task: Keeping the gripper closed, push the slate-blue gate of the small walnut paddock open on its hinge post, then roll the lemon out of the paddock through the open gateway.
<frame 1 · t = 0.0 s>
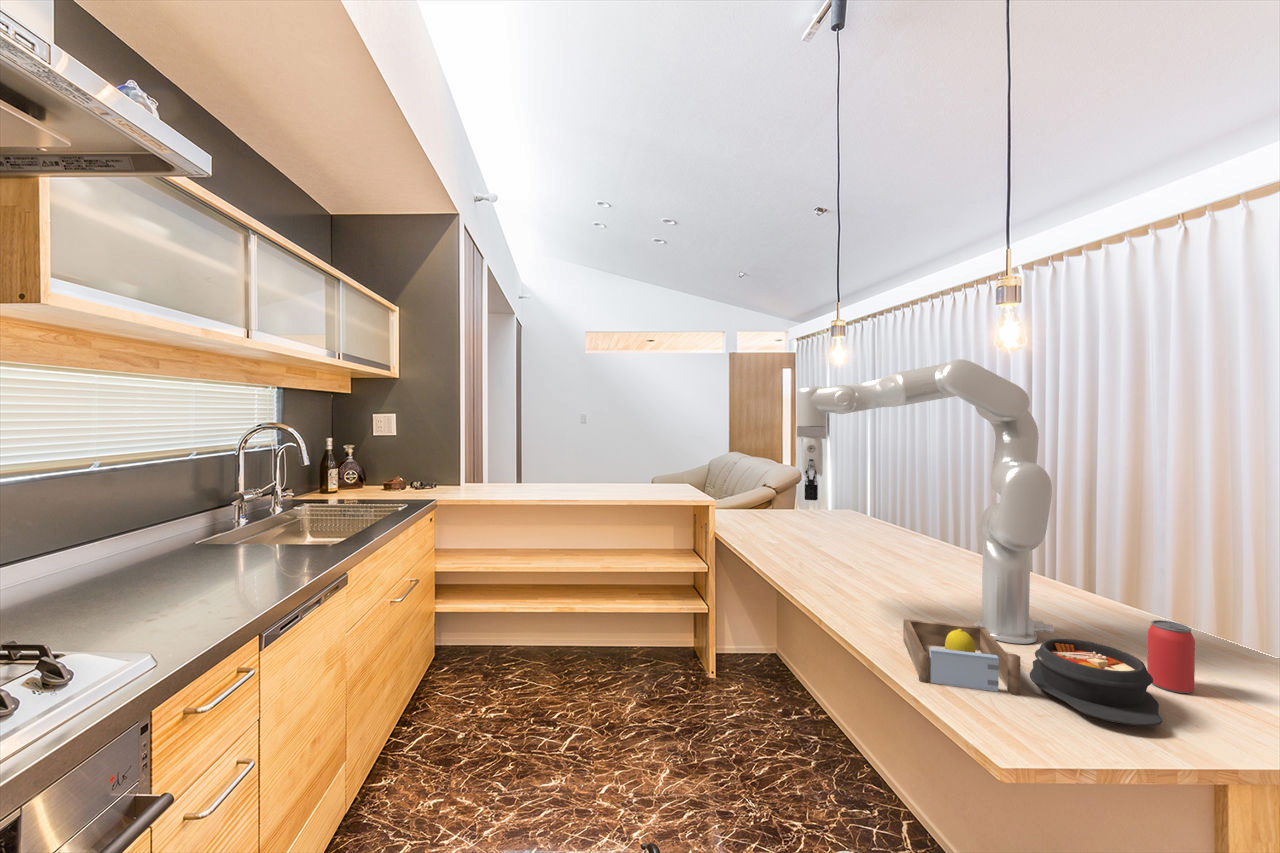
hand: (811, 497, 145), 31 cm above the counter, tool pointing down, fingers open, 9 cm apart
gate: (963, 669, 106), point 3 cm above the counter, hinge at 0.0°
lemon: (959, 667, 114), on the counter
paddock: (953, 664, 116), on the counter
casserole: (1090, 699, 102), on the counter
beer can: (1170, 687, 106), on the counter
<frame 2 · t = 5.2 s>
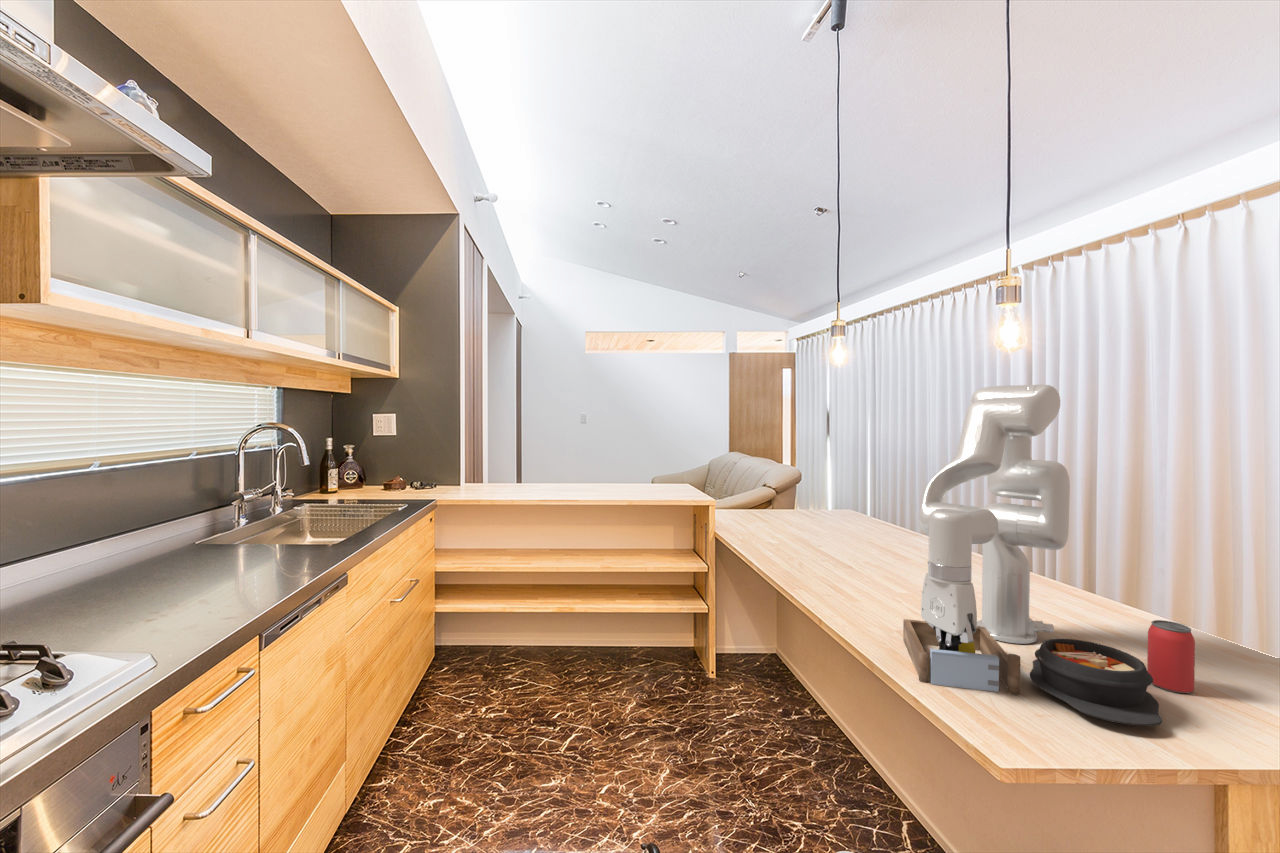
hand: (948, 662, 109), 3 cm above the counter, tool pointing down, fingers closed
gate: (963, 670, 106), point 3 cm above the counter, hinge at 2.3°, touching gripper
everything else where it was.
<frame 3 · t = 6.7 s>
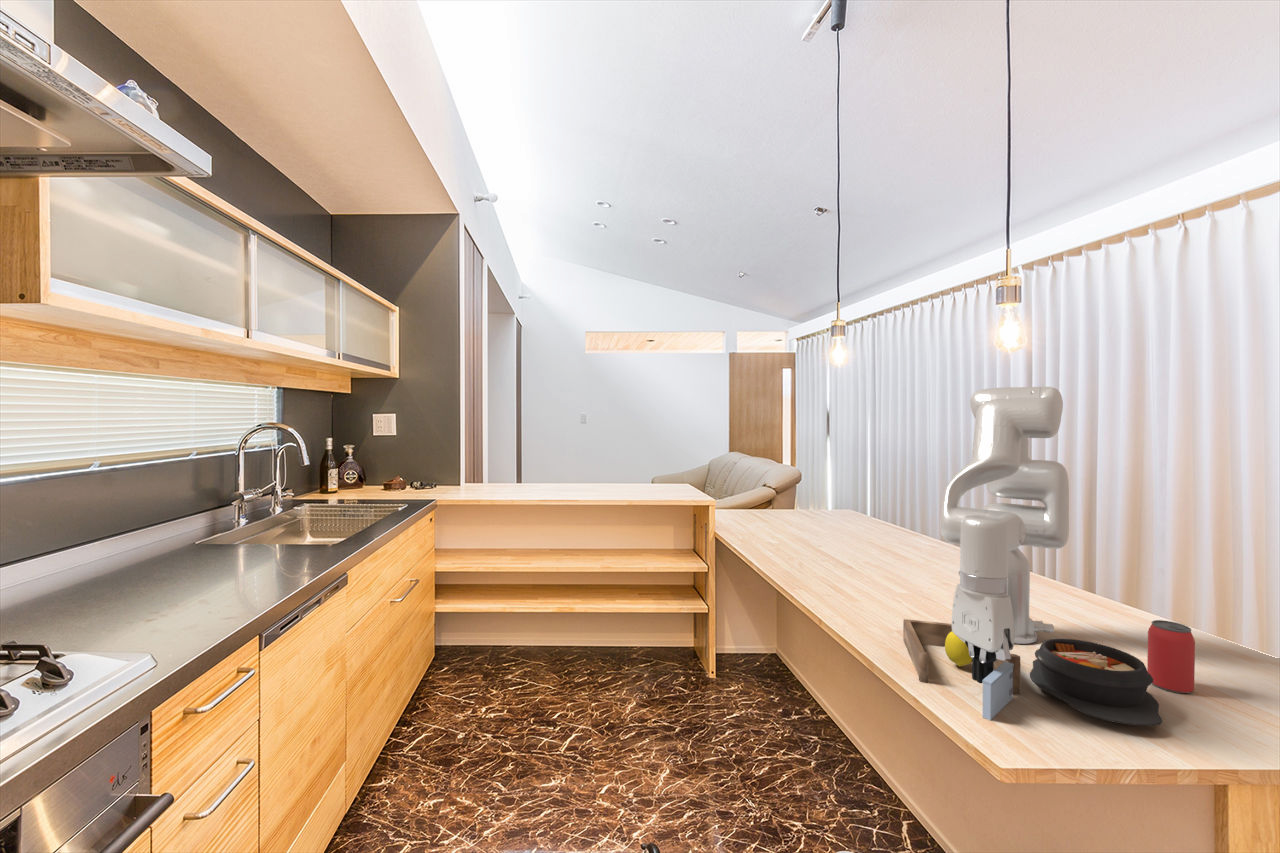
hand: (982, 680, 101), 3 cm above the counter, tool pointing down, fingers closed
gate: (998, 689, 98), point 3 cm above the counter, hinge at 57.3°, touching gripper
everything else where it was.
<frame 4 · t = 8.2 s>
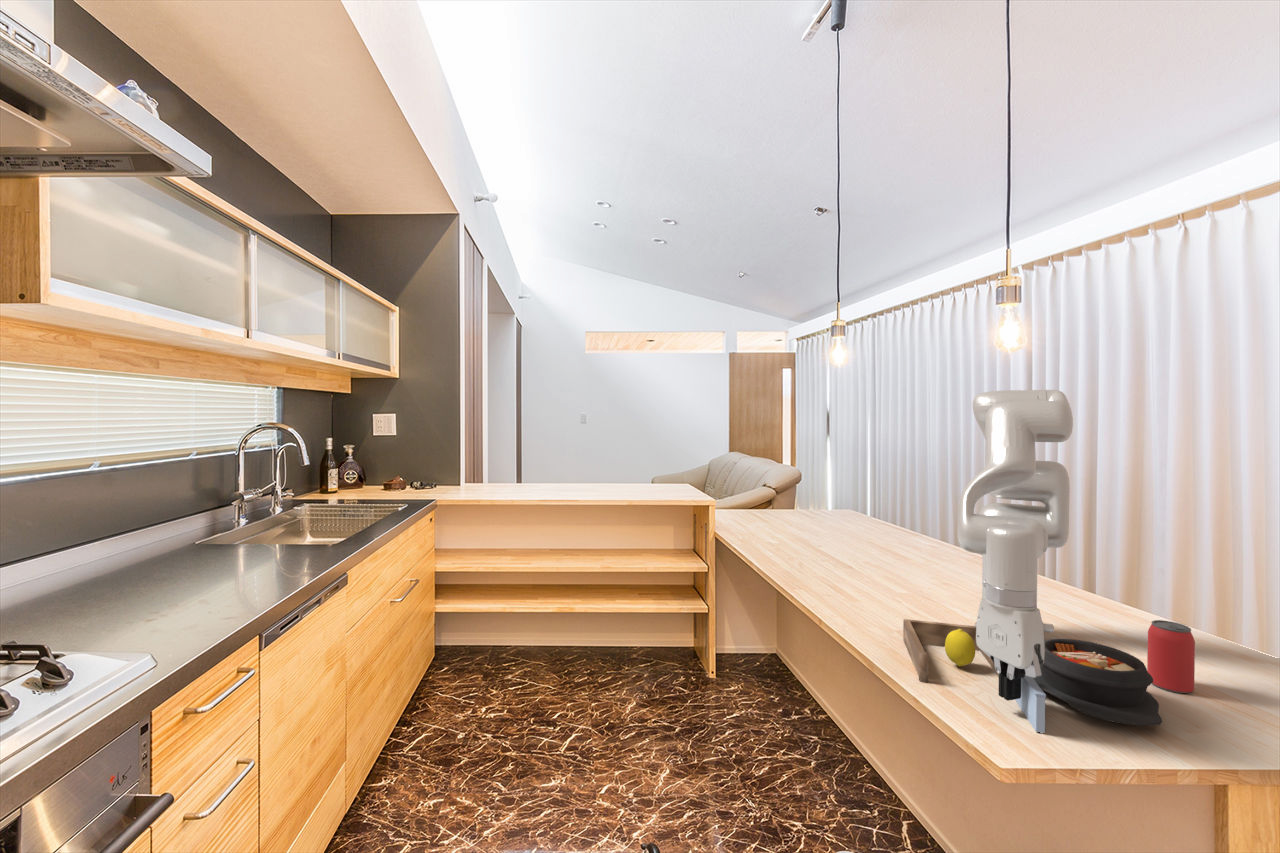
hand: (1009, 697, 97), 3 cm above the counter, tool pointing down, fingers closed
gate: (1028, 697, 96), point 3 cm above the counter, hinge at 87.9°, touching gripper
everything else where it was.
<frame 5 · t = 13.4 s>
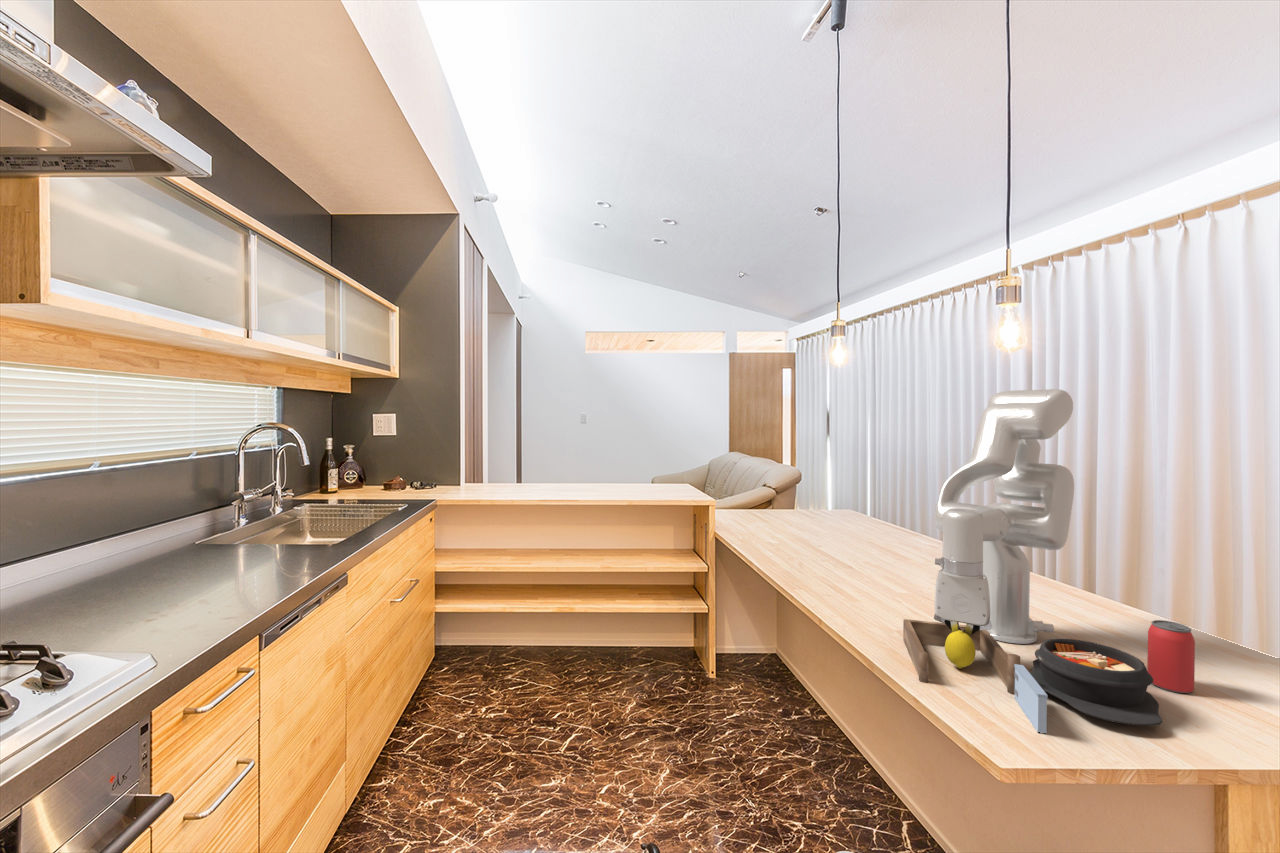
hand: (961, 651, 117), 2 cm above the counter, tool pointing down, fingers closed
gate: (1029, 697, 96), point 3 cm above the counter, hinge at 88.8°
lemon: (959, 669, 114), on the counter, touching gripper
everything else where it was.
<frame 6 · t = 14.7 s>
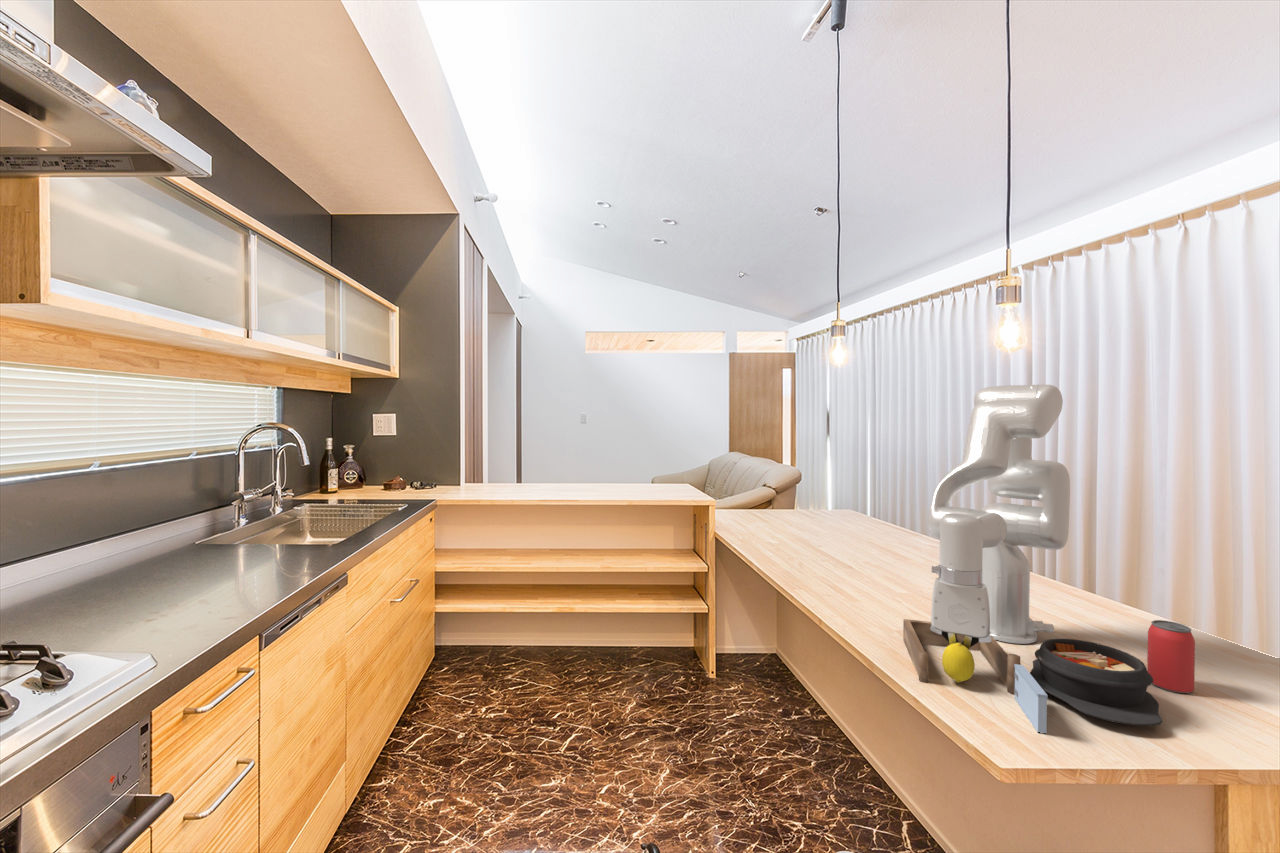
hand: (960, 664, 111), 2 cm above the counter, tool pointing down, fingers closed
lemon: (957, 683, 107), on the counter, touching gripper
everything else where it was.
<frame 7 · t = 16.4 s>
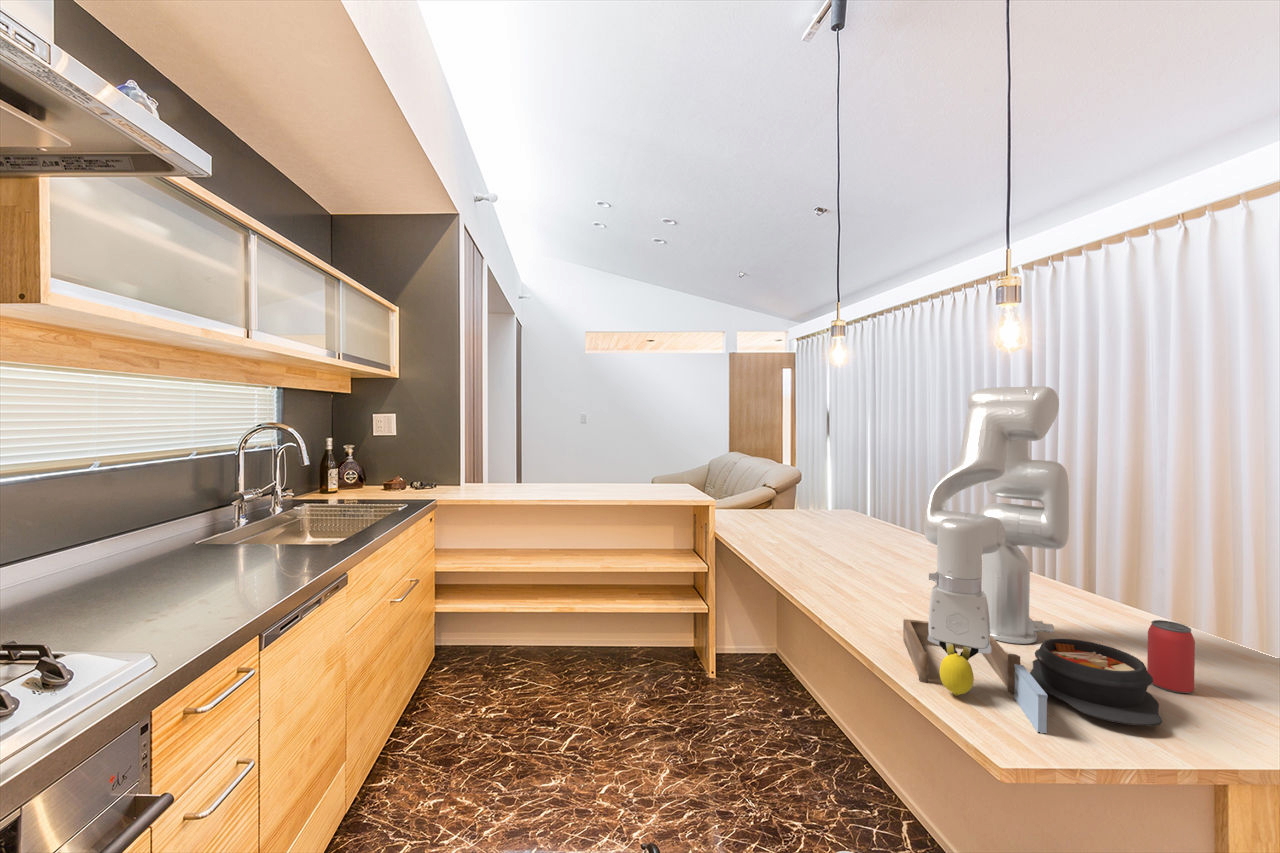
hand: (958, 676, 106), 2 cm above the counter, tool pointing down, fingers closed
lemon: (956, 696, 103), on the counter, touching gripper
everything else where it was.
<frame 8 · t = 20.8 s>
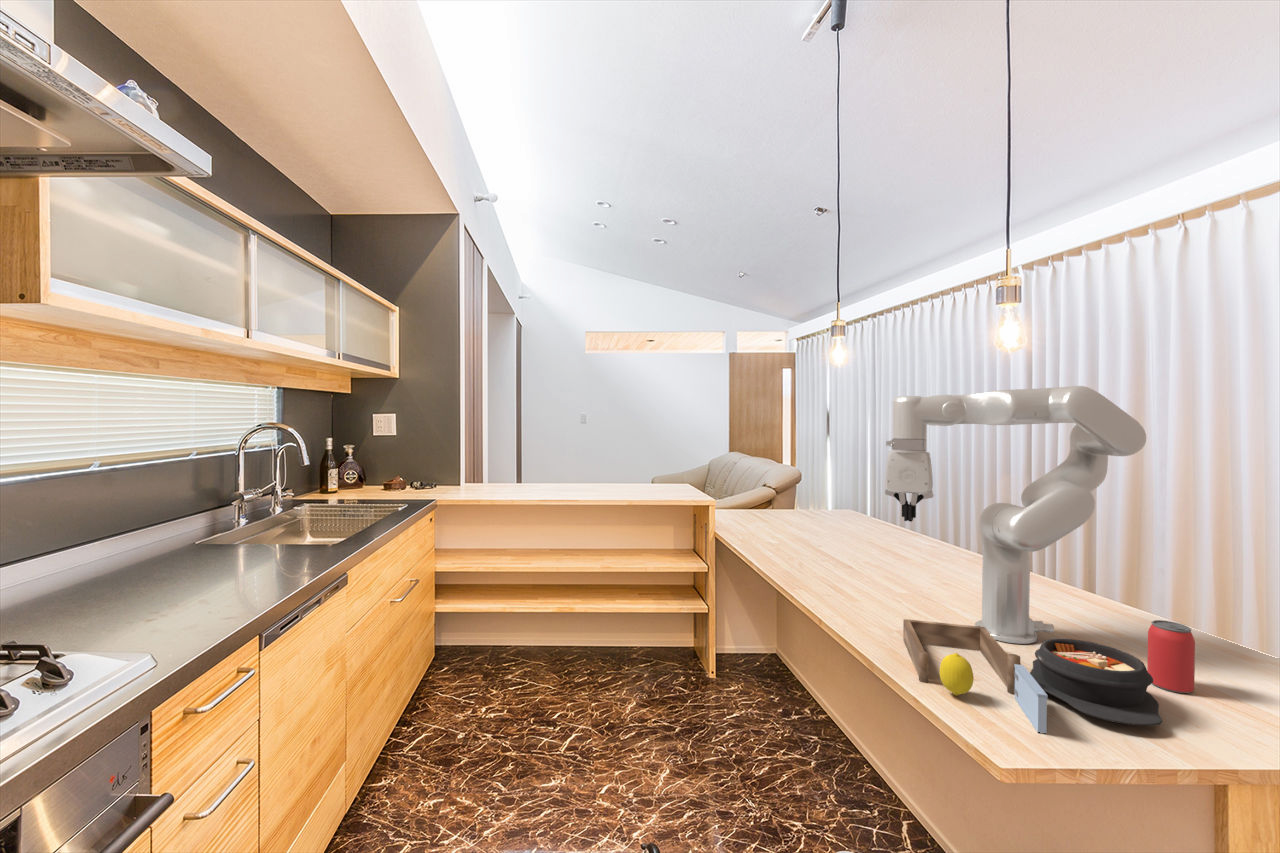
hand: (908, 520, 134), 27 cm above the counter, tool pointing down, fingers closed
lemon: (956, 696, 103), on the counter
everything else where it was.
at the end: gate at +89° (first picture: +0°); lemon inside the target area (7.4 cm from its centre), on the counter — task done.
